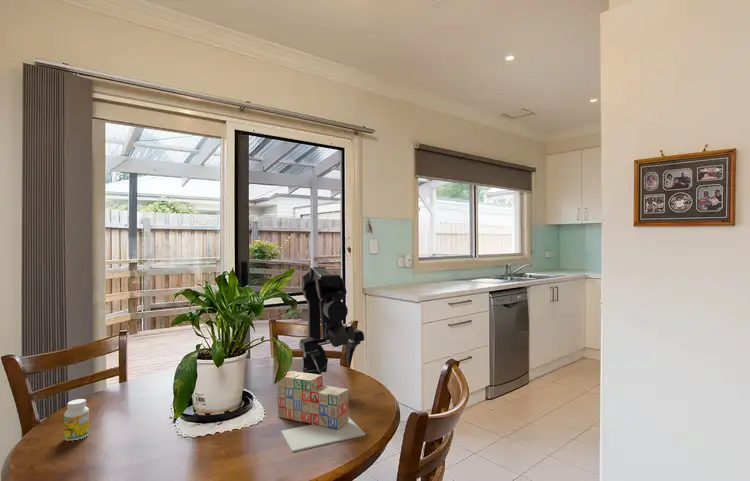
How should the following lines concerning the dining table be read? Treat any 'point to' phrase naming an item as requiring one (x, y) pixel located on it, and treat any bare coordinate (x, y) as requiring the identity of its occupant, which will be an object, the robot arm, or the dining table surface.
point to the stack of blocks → (312, 400)
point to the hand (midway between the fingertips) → (334, 368)
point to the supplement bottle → (76, 420)
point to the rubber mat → (319, 435)
